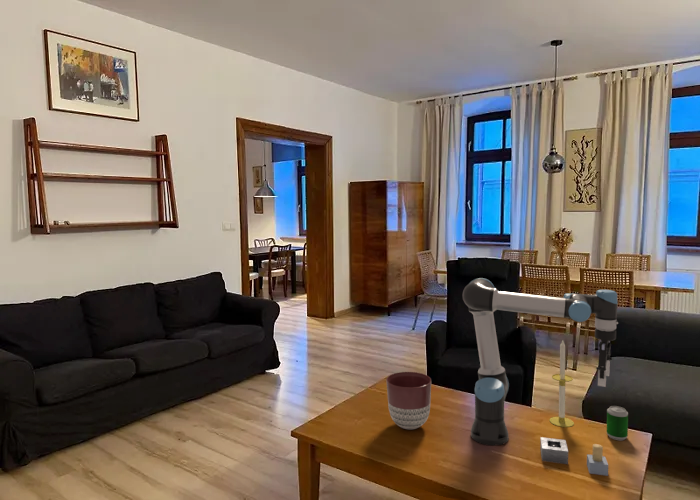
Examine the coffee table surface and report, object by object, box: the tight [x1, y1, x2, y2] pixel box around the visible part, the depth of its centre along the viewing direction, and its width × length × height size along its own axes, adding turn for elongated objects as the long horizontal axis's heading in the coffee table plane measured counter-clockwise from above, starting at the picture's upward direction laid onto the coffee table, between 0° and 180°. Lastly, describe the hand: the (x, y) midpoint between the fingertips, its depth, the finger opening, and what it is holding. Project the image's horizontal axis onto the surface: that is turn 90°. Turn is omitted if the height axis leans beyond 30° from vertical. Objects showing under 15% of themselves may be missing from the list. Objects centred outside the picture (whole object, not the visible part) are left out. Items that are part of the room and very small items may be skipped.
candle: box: [549, 339, 575, 428], centre depth 211 cm, size 10×10×38 cm
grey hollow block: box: [539, 436, 569, 465], centre depth 184 cm, size 9×9×5 cm
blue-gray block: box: [586, 443, 609, 477], centre depth 174 cm, size 6×6×9 cm
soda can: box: [606, 405, 629, 441], centre depth 198 cm, size 8×8×12 cm
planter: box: [386, 371, 432, 430], centre depth 212 cm, size 20×20×21 cm
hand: (603, 380), depth 194 cm, fingers open, 13 cm apart
